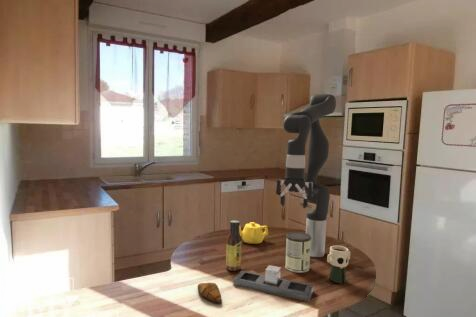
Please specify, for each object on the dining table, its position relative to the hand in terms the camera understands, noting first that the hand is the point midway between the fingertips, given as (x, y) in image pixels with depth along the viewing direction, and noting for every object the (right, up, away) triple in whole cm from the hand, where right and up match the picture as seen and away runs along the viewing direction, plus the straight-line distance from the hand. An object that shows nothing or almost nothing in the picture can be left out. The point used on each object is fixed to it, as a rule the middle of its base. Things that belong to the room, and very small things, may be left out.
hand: (293, 206), depth 133 cm
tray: (-9, -28, -10) cm, 32 cm away
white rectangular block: (-10, -28, -10) cm, 31 cm away
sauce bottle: (-24, -27, +6) cm, 37 cm away
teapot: (-15, -24, +41) cm, 50 cm away
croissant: (-32, -29, -18) cm, 47 cm away
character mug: (+17, -29, -2) cm, 34 cm away
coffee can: (+3, -28, +9) cm, 29 cm away
